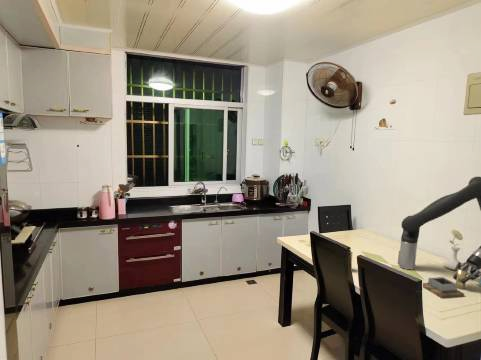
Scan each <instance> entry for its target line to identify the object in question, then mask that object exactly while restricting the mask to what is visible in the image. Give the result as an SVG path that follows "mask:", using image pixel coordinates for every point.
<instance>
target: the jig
mask: <svg viewBox="0 0 481 360" xmlns="http://www.w3.org/2000/svg"><path fill="white" fill-rule="evenodd" d="M427 280H428V281H427V282H422V283H423V287H422V288H423V289H425V290H427V291H428V292H430V293H432V294H433V295H435V296H437V297H439V298H440V299H445V298H447V299H448V298H449V299H450V298H460V297H464V296H465V293H464V292H462V291H461V290H458V288H457V286H458V285H457V284H456V282H453V281H451V280H449V279H447V278H446V277H444V276H442V277H441V276H440V277H428V279H427Z"/></svg>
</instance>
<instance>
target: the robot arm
mask: <svg viewBox="0 0 481 360" xmlns="http://www.w3.org/2000/svg"><path fill="white" fill-rule="evenodd" d="M475 199H476V201H477V203H478V207H479V211H481V176H474V177H471V179H469V182H468V185H466V186H464V187H463V188H461V189H460V190H458V191H456V192H453V193H451V194H446V195H443V196H442V197H440V198H438V199H436V200H434V201H433V202H431V203H430V204H429V205H427V206H426V207H424V208H423V209H422V210H421V211H419V212H417V213H415V214H412V215H408V216H405V218H403V220H402V221H401V228H402V234H401V238H400V248H399V250H398V257H397V265H398V264H399V265H398V267H399V266H400V267H399V268H401V267H402V268H401V269H403V268H406V269H405V270H407V269H411V270H410V271H413V270H415V269H416V268H415V267H416V260H417V259H416V258H417V249H418V241H419V236H420V229H421V227H423V226H424V225H426V224H427V223H429V222H432V221H434V220H436V219H438V218H441V217H443V216H445V215H447V214H448V213H451V212H452V211H454V210H456V209H457V208H459V207H461V206H462V205H464V204H466V203H469V202H470V201H472V200H475ZM462 266H463V267H462ZM457 269H464V270H466V271H467V274H466V277H464V278H463V279H462V280H461V283H463V284H464V283H465V284H466V283H467V282H468V281H469V280H471V281H474V280H475V279H477V278H479V277H481V271H480V270H481V245H480V246H478V248H477V249H476V250H475V251H473V252H472V253H471V254H470V255H469V257H468V258H466V261H465V262H461V261H459V262H458V264H457V266H456V268H455V270H454V271H455V273H454V274H453V276H452V278H453V280H455V281H456V277H457Z"/></svg>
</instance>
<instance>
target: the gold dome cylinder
mask: <svg viewBox="0 0 481 360" xmlns="http://www.w3.org/2000/svg"><path fill="white" fill-rule="evenodd" d="M466 274H467V271H466V270H464V269H457V277H456V280H455V284H457V285H458V286H457V289H459V290H465V289H466V283H464V284H463V283H461V280H462V279H463V278H464V277H466Z"/></svg>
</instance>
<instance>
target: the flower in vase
mask: <svg viewBox="0 0 481 360" xmlns="http://www.w3.org/2000/svg"><path fill="white" fill-rule="evenodd" d="M450 231H451V234H452V236H453V237H454V238H453V240H451V239H450V240H449V241H448V242H449V243H450V244H451V245H453V246H450V249H452V250H451V251H452V256H451V258H450V259H447V260H446V261H443V263H442V265H443V267H445V268H447V269H450V270H453V271H455V268H456V266H457V264H458V262H460V261H459V260H458V259H457V255H458V253H459V252H460V249H461V248H460V247H458V245H459V243H457V244H455V241H454V240H455V239H456V240H458V241H463V238H464V237H463V234H462V233H461V232H460V231H459V230H457V229H455V228H453V229H451V230H450ZM462 267H463V266H462Z"/></svg>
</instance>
